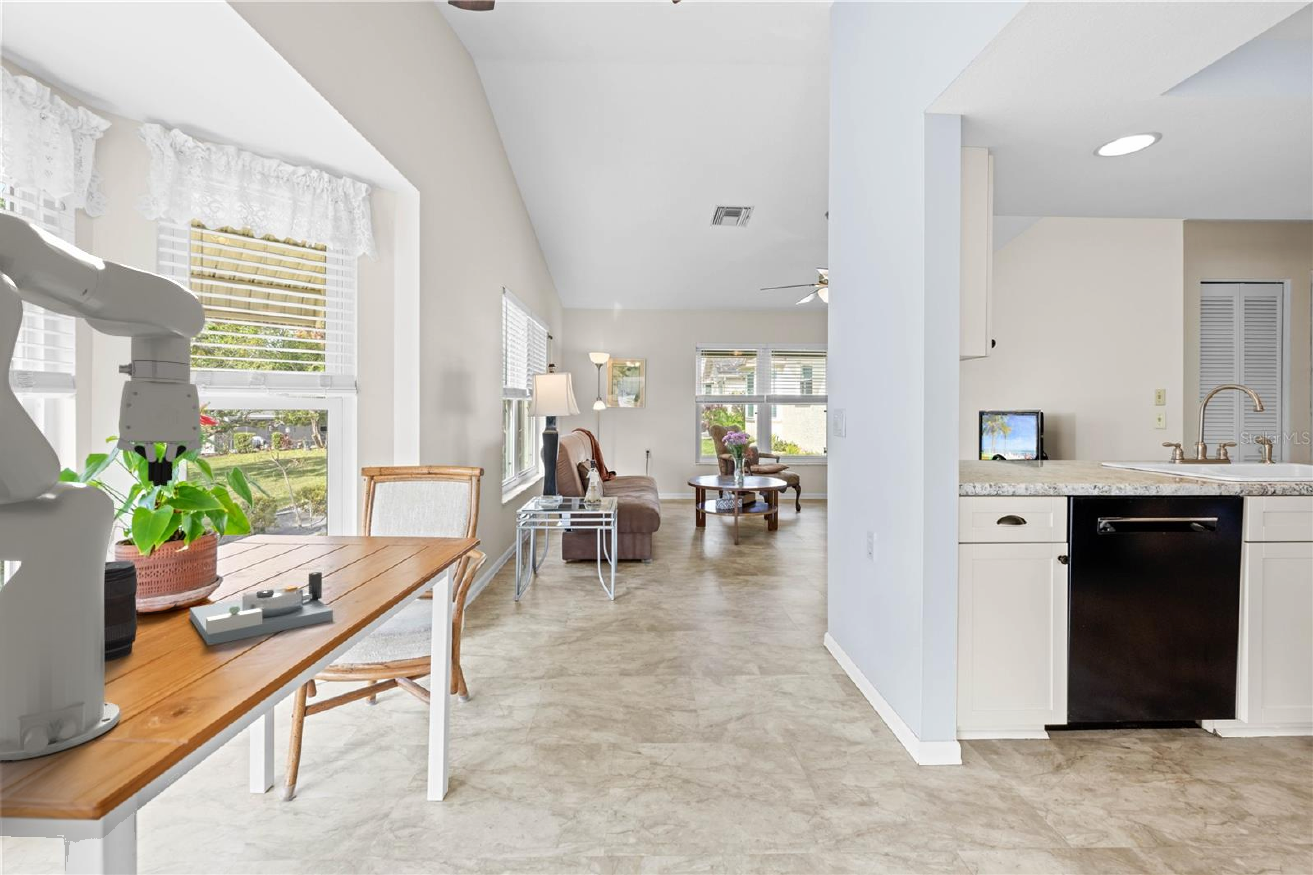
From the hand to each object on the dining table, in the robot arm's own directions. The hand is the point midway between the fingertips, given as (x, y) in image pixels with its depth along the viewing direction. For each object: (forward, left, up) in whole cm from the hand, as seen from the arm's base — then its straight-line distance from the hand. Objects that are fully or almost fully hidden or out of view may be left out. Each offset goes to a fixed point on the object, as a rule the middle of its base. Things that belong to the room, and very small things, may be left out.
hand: (160, 485), depth 98 cm
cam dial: (+9, -20, -26) cm, 34 cm away
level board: (+11, -17, -29) cm, 35 cm away
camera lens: (+7, +6, -29) cm, 30 cm away
